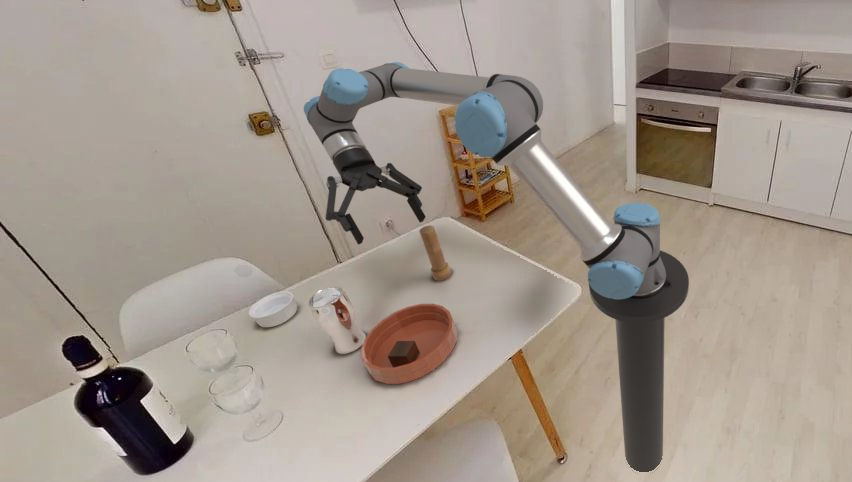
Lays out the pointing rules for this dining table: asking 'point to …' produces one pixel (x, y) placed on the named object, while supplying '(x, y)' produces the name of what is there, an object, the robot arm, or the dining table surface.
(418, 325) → the bowl
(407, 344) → the walnut block
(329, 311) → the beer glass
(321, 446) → the dining table surface
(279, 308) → the ramekin
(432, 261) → the muddler
